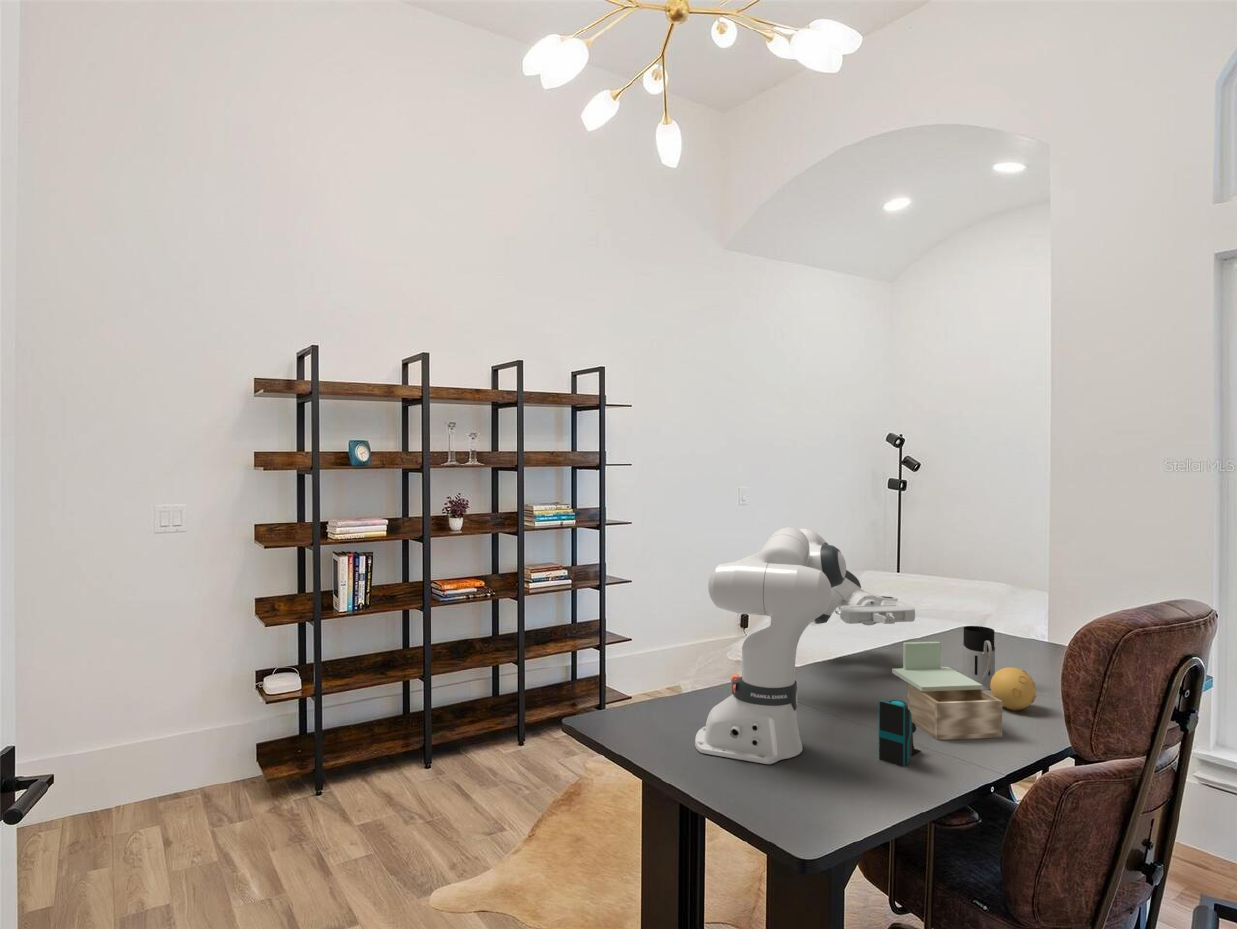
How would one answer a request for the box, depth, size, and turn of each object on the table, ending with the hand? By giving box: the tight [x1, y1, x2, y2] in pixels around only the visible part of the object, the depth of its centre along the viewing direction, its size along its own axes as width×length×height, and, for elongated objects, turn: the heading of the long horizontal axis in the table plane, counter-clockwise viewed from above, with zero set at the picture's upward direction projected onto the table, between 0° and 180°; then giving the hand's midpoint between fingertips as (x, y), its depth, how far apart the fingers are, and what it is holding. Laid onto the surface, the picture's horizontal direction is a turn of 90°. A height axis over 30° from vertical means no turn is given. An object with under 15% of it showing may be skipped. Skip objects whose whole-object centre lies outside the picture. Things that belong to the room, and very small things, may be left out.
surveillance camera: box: [878, 699, 921, 768], centre depth 151 cm, size 6×12×10 cm
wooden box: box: [907, 683, 1003, 741], centre depth 167 cm, size 15×13×8 cm
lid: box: [891, 641, 983, 691], centre depth 174 cm, size 15×14×7 cm
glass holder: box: [962, 625, 996, 691], centre depth 195 cm, size 9×14×15 cm, turn 170°
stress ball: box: [990, 667, 1037, 712], centre depth 179 cm, size 10×10×10 cm
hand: (889, 620), depth 197 cm, fingers closed
